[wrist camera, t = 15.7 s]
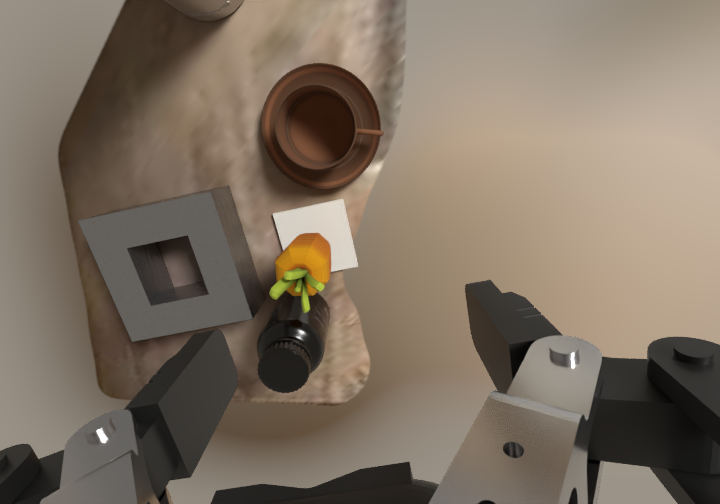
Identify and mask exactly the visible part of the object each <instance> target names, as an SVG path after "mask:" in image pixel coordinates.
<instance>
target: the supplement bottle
mask: <svg viewBox="0 0 720 504" xmlns="http://www.w3.org/2000/svg"><path fill="white" fill-rule="evenodd" d="M308 300H309V305H310V310H309V311H308V312H307V313H303V309H302V304H301V296H292V295H291V294H290V293H289V292H288V291H287V292H286V293H284V294H283V295H282V296H281V297H280V298H279V299H278V300H277V302H276V304H275V306H274V308H273V310H272V312H271V314H270V316H269V318H268V320H267V322H266V324H265V325H264V327H263V329H262V331H261V334H260V336H259V338H258V342H257V353H258V357H259V359H260V361H259V363H258V375H259V376H260V377H259V378H260V379H261V381H262V383H264V384H265V386H267V387H268V388H269V389H272V390H273V391H277V392H282V393H289V392H294V391H296V390H298V389H299V388H301V387H302V386H303V385H305V382H307V380H308V377H309V374H310V373H312V372H313V371H314V370H315V369H316V368H317V367H318V366H319V365H320V363H321V361H322V358H323V355H324V351H325V344H326V338H327V332H328V326H329V319H330V312H329V307H328V305H327V303H326V301H325V300H324V298H323V297H322V296H321V295H319V294H318V293H316V294H315V295H313V296H308Z"/></svg>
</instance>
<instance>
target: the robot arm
mask: <svg viewBox="0 0 720 504" xmlns="http://www.w3.org/2000/svg"><path fill="white" fill-rule="evenodd" d="M164 1H165V2H167V3H168V4H170V5H171V6H172V7H174V8H175V9H177V10H178V11H180V12H181V13H183V14H185V15H186V16H188V17H191V18H193V19H196V20H201V21H215V20H219V19H222V18H224V17H227V16H228V15H230V14H231V13H232V12H234V11H235V10H236V9H237V8H238V7H239V5H240V4H241V3H242V2H243V0H164ZM465 293H466V300H467V308H468V315H469V322H470V330H471V335H472V339H473V342H474V345H475V348H476V350H477V352H478V354H479V356H480V358H481V360H482V361H483V363H484V365H485V367H486V369H487V371H488V373H489V375H490V377H491V379H492V381H493V383H494V384H495V386H496V388H497V390H498V391H493V392H491V394H490V395H489V396H488V398H487V400H486V402H485V403H484V405H483V407H482V409H481V410H480V413H479V414H478V416H477V418H476V420H475V421H474V423H473V425H472V427H471V428H470V430H469V432H468V434H467V436H466V437H465V439H464V441H463V443H462V445H461V446H460V448H459V450H458V452H457V454H456V455H455V457H454V459H453V461H452V463H451V465H450V466H449V468H448V470H447V472H446V473H445V475H444V477H443V479H442V481H441V482H440V484H436V483H433V482H428V481H423V480H417V479H413V477H412V472H411V468H410V463H409V462H405V463H398V464H391V465H385V466H378V467H371V468H365V469H359V470H357V471H354V472H352V473H349V474H346V475H344V476H342V477H339V478H336V479H333V480H331V481H328V482H326V483H323V484H321V485H318V486H315V487H312V488H295V487H286V486H277V485H267V484H258V485H252V486H245V487H238V488H231V489H226V490H219V491H216V492H215V495H214V497H213V500H212V502H211V504H597V500H598V494H599V488H600V482H601V476H602V469H603V464H604V461H606V462H615V463H622V464H630V465H639V466H646V467H650V469H651V470H652V471H653V473H654V474H655V475H656V476H657V478H658V479H659V480H660V482H661V483H662V484H663V485H664V487H665V488H666V489H667V490H668V492H669V493H670V494H671V496H672V497H673V498H674V499H675V501H676V502H677V503H678V504H720V345H718V344H715V343H713V342H709V341H706V340H701V339H696V338H688V337H667V338H662V339H658V340H656V341H654V342H652V343H651V344H650V345H649V346H648V351H647V359H625V358H608V357H602V354H601V352H600V350H599V349H598V348H597V347H596V346H594V345H593V344H591V343H590V342H588V341H585V340H582V339H579V338H576V337H571V336H563V335H562V334H561V333H560V332H559V331H558V330H557V329H556V328H555V327H554V326H553V325H552V324H551V323H550V322H549V321H548V320H547V319H546V318H545V317H544V316H543V315H541V313H540V312H539V311H538V310H537V309H536V308H534V306H533V305H532V304H531V303H530V302H529V301H528V300H527V299H526V298H525V297H522V296H520V295H518V294H515V293H513V292H508V293H501V292H500V290H499V289H498V288H497V287H496V286H495V285H494V284H493V282H492V281H491V280H487V281H481V282H476V283H470V284H466V286H465ZM237 381H238V378H237V371H236V367H235V365H234V362H233V359H232V356H231V354H230V351H229V348H228V345H227V342H226V340H225V337H224V335H223V333H222V332H221V331H220V330H213V331H207V332H202V333H196V334H194V335H193V336H192V337H191V338H190V340H189V341H188V342H187V343H186V344H185V345H184V346H183V348H182V349H181V350H180V351H179V352H178V353H177V354H176V355H175V356H173V357H172V358H171V359H169V360H168V361H167V362H166V363H165V364H164V365H163V366H162V367H161V368H160V369H159V370H158V372H157V374H156V375H154V376H153V377H152V378H151V379H150V381H149V384H146V385H145V386H144V387H143V388H142V390H141V391H140V392H139V393H138V394H137V395H136V396H135V397H134V399H133V400H132V401H131V402H130V403H129V404H128V406H126V408H125V409H124V410H116V411H112V412H109V413H106V414H104V415H101V416H99V417H97V418H95V419H94V420H92V421H90V422H89V423H87V424H86V425H84V426H83V427H81V428H80V429H79V430H78V431H77V432H76V433H74V434H73V436H71V437H70V439H69V440H68V441H67V443H66V445H65V449H64V450H62V451H59V452H57V453H54V454H51V455H49V456H46V457H43V458H40V459H38V458H37V456H36V454H35V453H34V451H33V449H32V448H31V446H30V445H28V444H20V445H15V446H12V447H9V448H6V449H4V450H1V451H0V504H173V503H172V499H171V496H170V494H169V492H168V489H167V487H166V486H167V484H168V482H169V481H170V480H175V479H182V478H189V477H191V475H192V473H193V471H194V470H195V468H196V466H197V464H198V462H199V460H200V458H201V456H202V454H203V452H204V450H205V448H206V446H207V444H208V442H209V441H210V439H211V437H212V435H213V433H214V431H215V429H216V426H217V425H218V423H219V421H220V419H221V417H222V415H223V413H224V411H225V410H226V408H227V406H228V403H229V402H230V400H231V398H232V396H233V394H234V392H235V390H236V387H237Z"/></svg>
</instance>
